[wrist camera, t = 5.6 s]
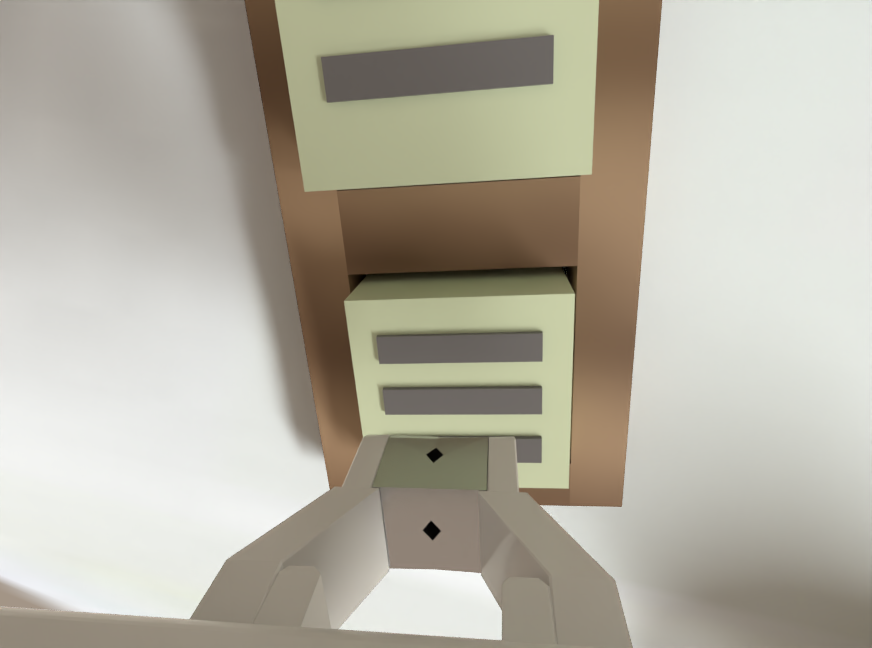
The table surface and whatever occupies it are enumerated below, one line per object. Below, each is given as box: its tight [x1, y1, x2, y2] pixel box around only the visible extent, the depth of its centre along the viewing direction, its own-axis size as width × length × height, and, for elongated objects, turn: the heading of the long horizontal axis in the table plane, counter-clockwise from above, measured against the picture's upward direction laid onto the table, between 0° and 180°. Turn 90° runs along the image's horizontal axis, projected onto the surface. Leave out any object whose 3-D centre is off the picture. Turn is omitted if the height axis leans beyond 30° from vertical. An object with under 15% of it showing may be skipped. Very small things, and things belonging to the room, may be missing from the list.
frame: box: [245, 0, 662, 507], centre depth 13 cm, size 28×10×2 cm, turn 4°
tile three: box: [344, 266, 575, 489], centre depth 15 cm, size 6×6×3 cm
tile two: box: [275, 0, 599, 192], centre depth 11 cm, size 6×6×3 cm
